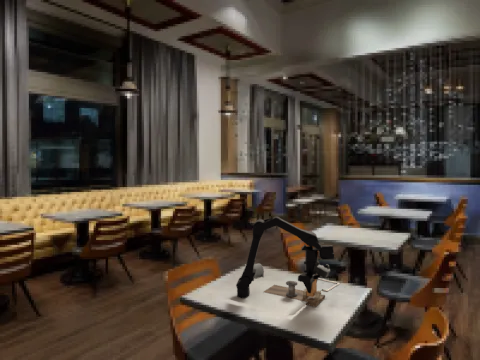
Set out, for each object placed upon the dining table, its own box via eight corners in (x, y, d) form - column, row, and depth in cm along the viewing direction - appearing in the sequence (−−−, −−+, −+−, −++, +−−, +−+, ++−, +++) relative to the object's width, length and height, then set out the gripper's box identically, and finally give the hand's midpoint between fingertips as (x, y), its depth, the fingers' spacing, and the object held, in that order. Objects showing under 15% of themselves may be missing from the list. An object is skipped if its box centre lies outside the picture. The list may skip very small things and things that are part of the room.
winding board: (315, 306, 159) (315, 290, 158) (263, 294, 174) (262, 280, 174) (325, 298, 169) (324, 283, 168) (274, 287, 184) (274, 273, 184)
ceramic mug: (245, 277, 202) (245, 264, 201) (256, 274, 206) (256, 261, 206) (256, 282, 193) (255, 269, 192) (267, 279, 197) (267, 266, 197)
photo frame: (310, 275, 200) (339, 282, 188) (310, 277, 200) (339, 284, 188) (297, 282, 189) (327, 290, 177) (297, 284, 189) (327, 292, 177)
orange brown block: (316, 293, 166) (316, 279, 166) (312, 296, 162) (312, 282, 162) (310, 292, 168) (310, 278, 168) (306, 295, 164) (306, 281, 163)
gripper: (320, 267, 152) (320, 301, 153) (334, 257, 167) (334, 288, 168) (297, 263, 158) (297, 296, 159) (312, 253, 174) (312, 284, 174)
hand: (311, 291), depth 165 cm, fingers closed on orange brown block, 5 cm apart
